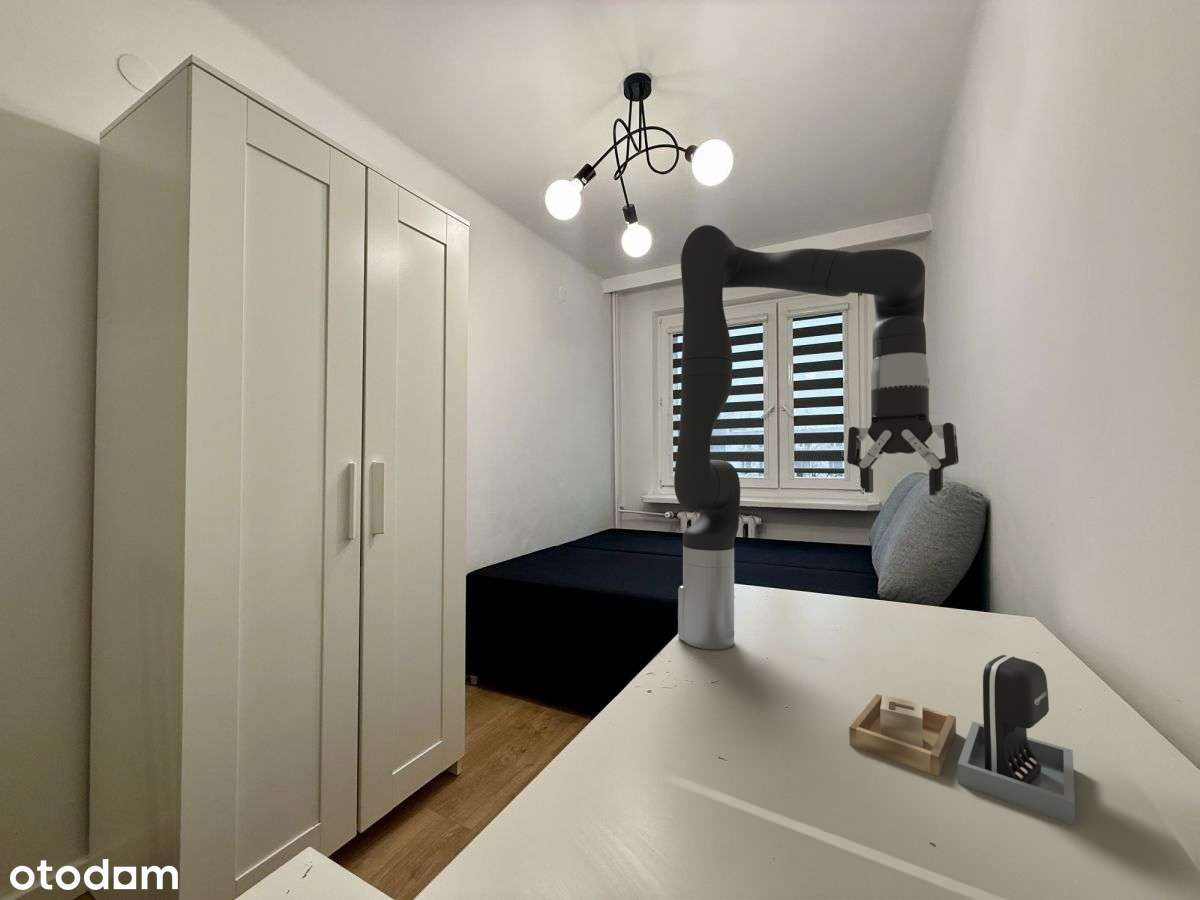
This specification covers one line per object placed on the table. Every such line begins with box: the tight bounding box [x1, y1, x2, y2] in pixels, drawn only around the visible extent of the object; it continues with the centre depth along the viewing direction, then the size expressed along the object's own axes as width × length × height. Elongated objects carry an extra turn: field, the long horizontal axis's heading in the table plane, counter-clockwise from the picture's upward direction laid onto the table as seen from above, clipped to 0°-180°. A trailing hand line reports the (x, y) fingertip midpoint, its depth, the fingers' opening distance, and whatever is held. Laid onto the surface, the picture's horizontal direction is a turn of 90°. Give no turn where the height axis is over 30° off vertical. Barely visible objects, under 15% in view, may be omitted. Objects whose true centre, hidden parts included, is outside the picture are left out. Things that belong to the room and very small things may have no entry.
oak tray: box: [848, 693, 957, 777], centre depth 57 cm, size 8×11×2 cm
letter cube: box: [880, 694, 923, 748], centre depth 56 cm, size 4×4×4 cm
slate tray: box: [957, 721, 1076, 827], centre depth 50 cm, size 8×11×2 cm
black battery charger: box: [982, 654, 1050, 784], centre depth 50 cm, size 7×4×11 cm, turn 124°
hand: (900, 493), depth 75 cm, fingers open, 8 cm apart
